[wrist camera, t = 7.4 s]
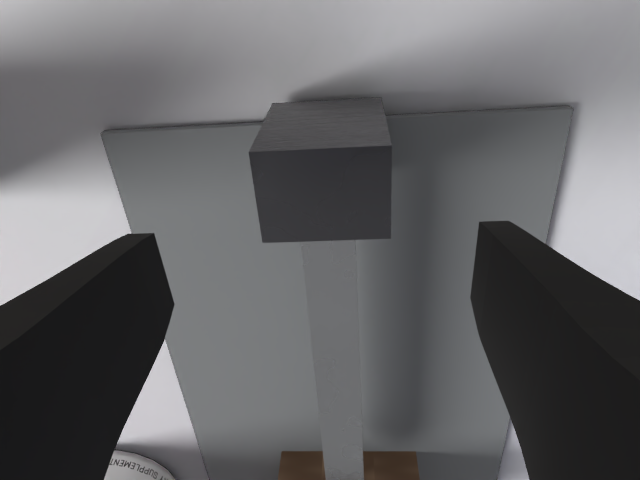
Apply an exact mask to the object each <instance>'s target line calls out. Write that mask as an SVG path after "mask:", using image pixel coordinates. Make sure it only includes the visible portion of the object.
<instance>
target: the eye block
mask: <svg viewBox="0 0 640 480" xmlns="http://www.w3.org/2000/svg"><path fill="white" fill-rule="evenodd" d="M363 467H364V480H420V478H419V470H418V463H417V456H416V451H363ZM278 480H326V478H325V468H324V459H323V451H282V452H281V459H280V467H279V474H278Z"/></svg>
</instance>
